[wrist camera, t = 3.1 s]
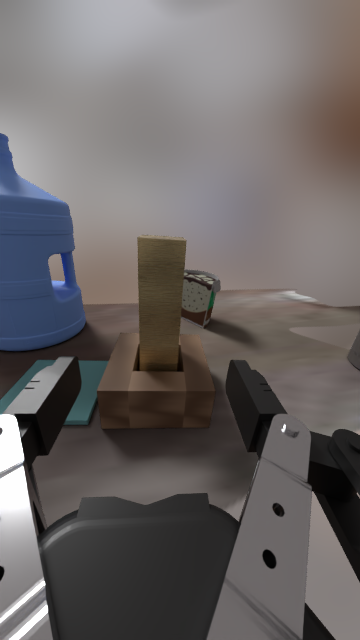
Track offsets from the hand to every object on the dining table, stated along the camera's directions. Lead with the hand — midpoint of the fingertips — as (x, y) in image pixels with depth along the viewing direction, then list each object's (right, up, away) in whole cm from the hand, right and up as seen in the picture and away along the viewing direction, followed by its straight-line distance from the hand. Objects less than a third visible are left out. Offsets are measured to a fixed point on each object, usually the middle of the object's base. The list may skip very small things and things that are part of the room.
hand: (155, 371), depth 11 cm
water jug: (-24, +1, +27) cm, 36 cm away
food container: (+5, +3, +37) cm, 37 cm away
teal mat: (-13, -6, +14) cm, 20 cm away
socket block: (-1, -6, +15) cm, 17 cm away
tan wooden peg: (-1, -6, +15) cm, 17 cm away
